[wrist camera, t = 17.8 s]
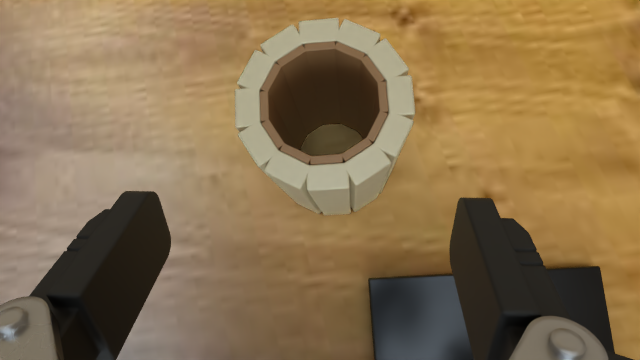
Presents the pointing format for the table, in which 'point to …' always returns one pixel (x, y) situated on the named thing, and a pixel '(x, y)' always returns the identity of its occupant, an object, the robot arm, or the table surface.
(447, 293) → the stand
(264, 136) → the wooden cup
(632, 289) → the table surface
